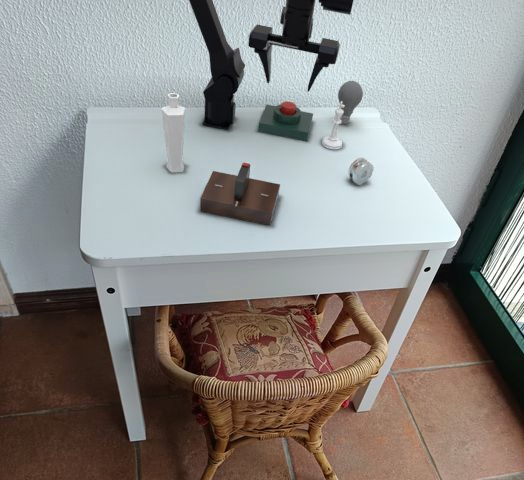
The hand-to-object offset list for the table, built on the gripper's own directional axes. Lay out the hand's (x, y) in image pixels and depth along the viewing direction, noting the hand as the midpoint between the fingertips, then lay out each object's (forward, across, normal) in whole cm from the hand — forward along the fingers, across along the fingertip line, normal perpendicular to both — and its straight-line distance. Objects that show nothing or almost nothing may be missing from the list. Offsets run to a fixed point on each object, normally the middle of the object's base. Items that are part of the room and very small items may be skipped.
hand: (288, 86), depth 109 cm
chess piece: (+11, -12, 0) cm, 17 cm away
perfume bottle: (+11, +19, +24) cm, 32 cm away
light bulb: (+11, -14, -12) cm, 22 cm away
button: (+7, 0, -4) cm, 8 cm away
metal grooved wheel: (+11, -20, +14) cm, 26 cm away
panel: (+11, +3, +31) cm, 33 cm away
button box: (+11, 0, -4) cm, 12 cm away
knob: (+8, +3, +31) cm, 32 cm away
